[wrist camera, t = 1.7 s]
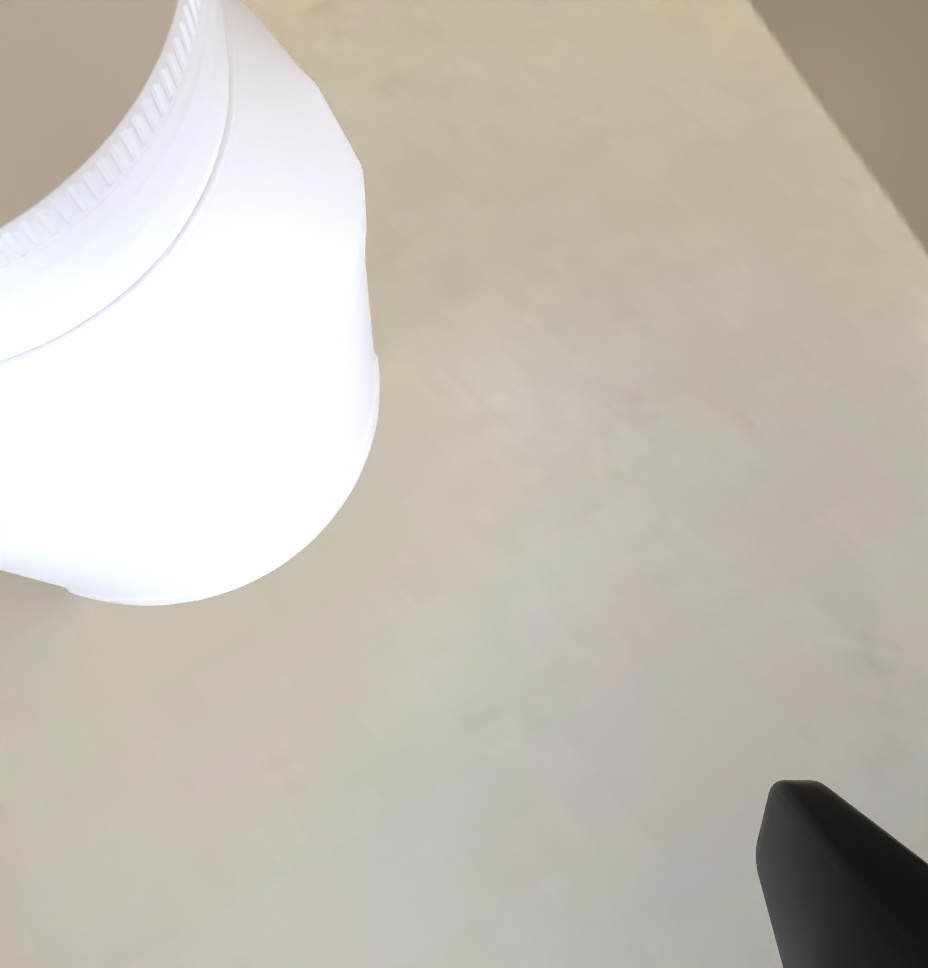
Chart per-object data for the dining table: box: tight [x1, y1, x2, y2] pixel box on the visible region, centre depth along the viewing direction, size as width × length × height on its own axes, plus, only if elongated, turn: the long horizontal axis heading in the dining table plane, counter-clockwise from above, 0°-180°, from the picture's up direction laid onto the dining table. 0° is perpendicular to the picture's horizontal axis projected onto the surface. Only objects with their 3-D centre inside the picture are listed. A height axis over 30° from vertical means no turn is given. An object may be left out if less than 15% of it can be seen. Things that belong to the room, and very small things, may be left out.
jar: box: [0, 0, 380, 605], centre depth 17 cm, size 12×10×15 cm
